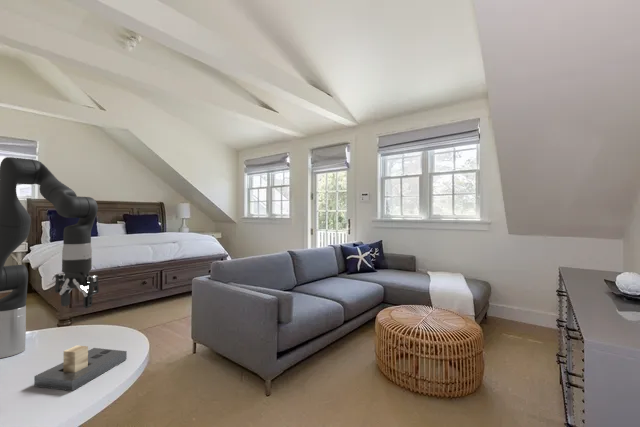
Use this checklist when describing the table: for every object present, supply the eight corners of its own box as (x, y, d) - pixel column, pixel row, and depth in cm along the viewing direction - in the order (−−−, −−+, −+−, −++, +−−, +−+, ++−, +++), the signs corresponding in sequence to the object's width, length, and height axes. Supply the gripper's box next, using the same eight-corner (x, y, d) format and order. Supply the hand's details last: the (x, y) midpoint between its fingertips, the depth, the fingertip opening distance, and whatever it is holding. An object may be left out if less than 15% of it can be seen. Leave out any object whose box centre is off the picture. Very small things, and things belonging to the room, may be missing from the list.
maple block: (63, 379, 96) (63, 351, 96) (76, 372, 100) (77, 345, 100) (74, 380, 95) (75, 352, 95) (87, 373, 100) (88, 346, 100)
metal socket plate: (34, 385, 92) (34, 375, 92) (94, 355, 112) (94, 347, 112) (72, 391, 90) (72, 380, 90) (126, 359, 109) (126, 350, 109)
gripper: (47, 258, 95) (46, 308, 95) (84, 259, 93) (84, 311, 93) (70, 254, 103) (69, 301, 103) (106, 256, 100) (105, 304, 100)
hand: (76, 306), depth 98 cm, fingers open, 8 cm apart
